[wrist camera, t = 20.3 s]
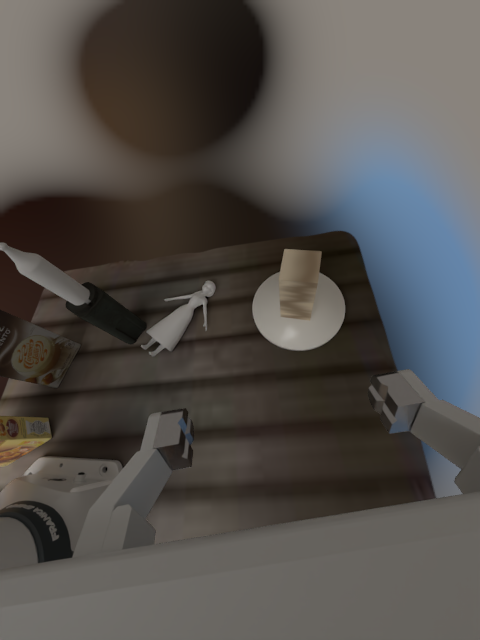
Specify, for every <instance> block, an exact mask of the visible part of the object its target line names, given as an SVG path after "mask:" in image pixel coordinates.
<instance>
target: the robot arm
mask: <svg viewBox="0 0 480 640" xmlns="http://www.w3.org/2000/svg"><path fill="white" fill-rule="evenodd" d="M370 382H371V384H372V385H371V386H370V387H369V389H368V397H369V401H370V403H371V405H372V407H373V409H374V410H375V411H377V412H379V413H380V414H381V415H380V420H381V422H382V423H383V425H384V426H385V428H386V429H387V431H388V433H389V434H390V433H397V432H404V431H410V432H411V433H412V434H414V435H415V436H416V437H418V438H419V439H421V440H422V441H423V442H425V443H426V444H427V445H429V446H430V447H432V448H433V449H434V450H436V451H437V452H439V453H440V454H441V455H443V456H444V457H445V458H447V459H448V460H449V461H451V462H452V463H453V464H455V465H456V466H458V467H459V468H461V471H460V472H459V474H458V475H457V476H456V478H455V481H454V482H455V484H456V485H457V486H458V488H459V489H460V490H461V492H462V493H463V494H461V495H455V496H449V497H443V498H436V499H430V500H424V501H418V502H412V503H406V504H399V505H393V506H387V507H381V508H375V509H369V510H363V511H356V512H350V513H344V514H338V515H332V516H326V517H319V518H313V519H307V520H301V521H295V522H289V523H282V524H276V525H270V526H264V527H258V528H252V529H246V530H239V531H233V532H227V533H221V534H215V535H209V536H203V537H196V538H190V539H184V540H178V541H172V542H166V543H159V544H154V540H155V533H156V530H155V529H154V527H153V526H152V525H150V524H149V523H148V522H147V521H146V520H145V519H146V517H147V515H148V514H149V512H150V510H151V508H152V507H153V505H154V503H155V501H156V500H157V498H158V496H159V494H160V493H161V491H162V489H163V487H164V486H165V484H166V482H167V480H168V479H169V477H170V475H171V473H172V471H173V470H178V469H183V468H188V467H192V457H193V450H192V448H191V446H190V445H191V444H192V442H193V441H194V426H193V422H192V420H191V419H190V418H188V411H187V410H186V408H185V409H178V410H171V411H164V412H158V413H152V414H150V416H149V418H148V422H147V426H146V430H145V434H144V437H143V441H142V445H141V449H140V451H139V452H136V453H135V454H134V456H133V457H132V458H131V459H130V460H129V462H128V463H127V464H126V465H125V467H124V468H122V465H121V463H120V462H119V461H118V460H105V459H88V458H70V457H53V456H45V457H41V458H39V459H37V460H36V461H35V462H34V463H33V464H32V465H31V466H30V467H29V469H28V470H27V471H26V472H25V474H24V475H23V476H22V477H19V478H16V479H14V480H13V481H11V482H10V483H9V484H8V485H7V486H6V487H5V488H4V489H3V490H2V491H1V493H0V640H480V418H479V417H477V416H475V415H473V414H470V413H469V412H466V411H464V410H462V409H460V408H458V407H456V406H454V405H452V404H450V403H448V402H446V401H444V400H438V399H437V398H436V397H435V395H434V394H433V393H432V392H431V391H430V390H429V389H428V388H427V387H426V386H425V385H424V384H423V382H422V381H421V380H420V379H419V378H418V377H417V376H416V375H415V374H414V373H413V372H412V371H411V370H409V369H407V370H401V371H396V372H395V371H394V372H389V373H383V374H378V375H373V376H372V377H371V379H370ZM106 467H107V472H106V470H105V469H106Z"/></svg>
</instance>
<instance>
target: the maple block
mask: <svg viewBox="0 0 480 640" xmlns="http://www.w3.org/2000/svg"><path fill="white" fill-rule="evenodd" d="M321 253H322V251H308V250H293V249H284V254H283V259H282V264H281V269H280V275H279V296H280V314H281V317H285V318H293V319H301V320H309V321H310V318H311V313H312V309H313V304H314V299H315V294H316V290H317V285H318V278H319V270H320V262H321Z"/></svg>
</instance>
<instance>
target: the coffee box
mask: <svg viewBox="0 0 480 640" xmlns="http://www.w3.org/2000/svg"><path fill="white" fill-rule="evenodd" d="M80 346H81V344H78V343H76V342H74V341H71V340H69V339H67V338H64V337H62V336H60V335H57V334H55V333H53V332H50V331H48V330H46V329H43V328H41V327H39V326H36V325H34V324H32V323H29V322H27V321H25V320H23V319H20V318H18V317H16V316H13V315H11V314H9V313H6V312H4V311H1V310H0V376H1V377H6V378H11V379H16V380H21V381H26V382H31V383H36V384H41V385H45V386H49V387H53V388H58V386H59V384H60V383H61V381H62V379H63V377H64V375H65V374H66V372H67V370H68V368H69V366H70V364H71V363H72V361H73V359H74V357H75V355H76V353H77V352H78V350H79V348H80Z"/></svg>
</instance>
